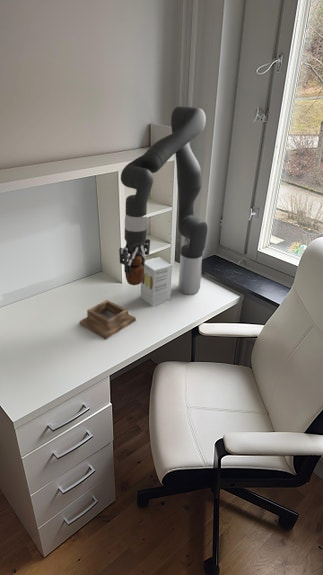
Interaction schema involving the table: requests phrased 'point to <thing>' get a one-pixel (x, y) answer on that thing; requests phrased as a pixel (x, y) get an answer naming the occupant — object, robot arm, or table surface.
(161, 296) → the supplement box
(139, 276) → the wooden figurine
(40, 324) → the table surface
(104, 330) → the holder
